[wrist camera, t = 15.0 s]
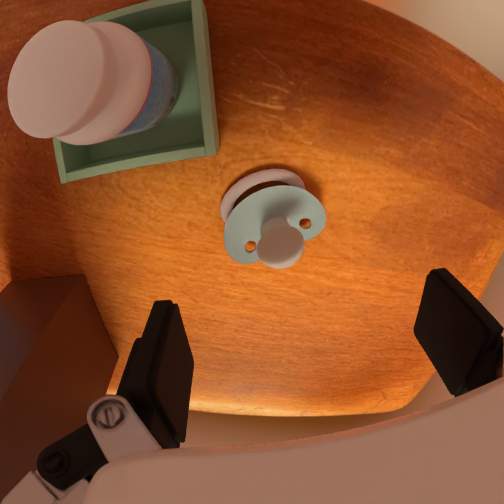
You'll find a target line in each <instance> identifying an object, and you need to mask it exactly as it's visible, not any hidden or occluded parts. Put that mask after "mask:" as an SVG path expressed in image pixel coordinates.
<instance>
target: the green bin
mask: <svg viewBox="0 0 504 504" xmlns="http://www.w3.org/2000/svg"><path fill="white" fill-rule="evenodd" d="M100 21H106V22H113V23H117V24H120V25H123V26H125V27H127V28H129V29H130V30H132V31H133V32H134V33H136V34H137V35H139V36H140V37H141V38H143V39H144V40H146V41H147V42H148V43H150V44H151V45H152V46H154V47H155V48H156V49H158V50H159V51H160V52H162V53H163V54H164V55H165V56H166V57H168V58H169V60H170V61H171V62H172V63H173V65H174V67H175V68H176V70H177V73H178V76H179V80H180V91H179V96H178V100H177V102H176V104H175V106H174V108H173V110H172V111H171V113H170V114H169V115H168V116H167V117H166V118H165V119H164V120H163V121H162V122H161V123H160V124H158V125H156V126H155V127H153V128H151V129H148V130H145V131H142V132H138V133H134V134H130V135H126V136H122V137H118V138H114V139H110V140H107V141H103V142H100V143H95V144H90V145H73V144H69V143H65V142H63V141H61V140H59V139H57V138H55V137H53V145H54V151H55V156H56V162H57V167H58V172H59V177H60V182H61V184H64V183H68V182H71V181H76V180H80V179H84V178H88V177H93V176H97V175H102V174H106V173H111V172H116V171H121V170H126V169H131V168H136V167H142V166H147V165H153V164H159V163H165V162H171V161H178V160H185V159H192V158H199V157H205V156H214V155H216V154H217V152H218V150H219V148H220V141H219V132H218V123H217V113H216V103H215V94H214V84H213V73H212V63H211V52H210V42H209V30H208V19H207V12H206V9H205V5H204V1H203V0H151V1H147V2H143V3H139V4H135V5H132V6H128V7H125V8H121V9H118V10H115V11H111V12H108V13H105V14H102V15H100V16H97V17H94V18H91V19H88V20H86V21H83V23H85V24H87V23H92V22H100Z"/></svg>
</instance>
